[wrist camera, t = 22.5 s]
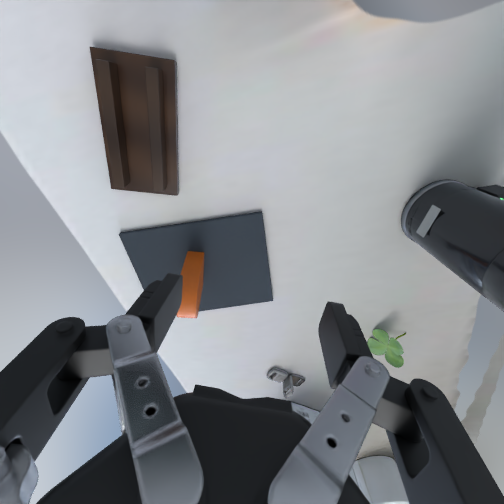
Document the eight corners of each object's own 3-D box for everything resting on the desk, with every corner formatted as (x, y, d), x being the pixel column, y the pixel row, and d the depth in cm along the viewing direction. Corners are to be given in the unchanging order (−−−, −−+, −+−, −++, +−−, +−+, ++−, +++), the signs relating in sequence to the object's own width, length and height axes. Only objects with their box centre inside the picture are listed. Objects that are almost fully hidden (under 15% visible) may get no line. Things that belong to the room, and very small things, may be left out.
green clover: (377, 317, 54) (358, 332, 51) (412, 313, 48) (392, 329, 44) (395, 349, 53) (376, 366, 50) (433, 349, 46) (414, 369, 43)
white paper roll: (340, 463, 80) (354, 511, 71) (389, 450, 77) (410, 498, 68) (353, 480, 87) (367, 525, 78) (398, 468, 85) (418, 514, 75)
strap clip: (265, 374, 54) (267, 394, 51) (273, 366, 53) (275, 386, 50) (297, 384, 57) (301, 404, 53) (305, 377, 56) (310, 397, 52)
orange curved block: (187, 250, 37) (175, 290, 30) (204, 252, 38) (196, 291, 30) (187, 283, 40) (176, 327, 33) (203, 284, 41) (195, 328, 33)
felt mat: (261, 211, 35) (262, 212, 35) (272, 298, 44) (273, 300, 43) (120, 232, 36) (118, 234, 35) (157, 314, 44) (156, 317, 44)
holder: (94, 48, 26) (78, 42, 23) (176, 61, 26) (170, 57, 24) (114, 186, 33) (104, 194, 30) (178, 193, 33) (174, 201, 31)
